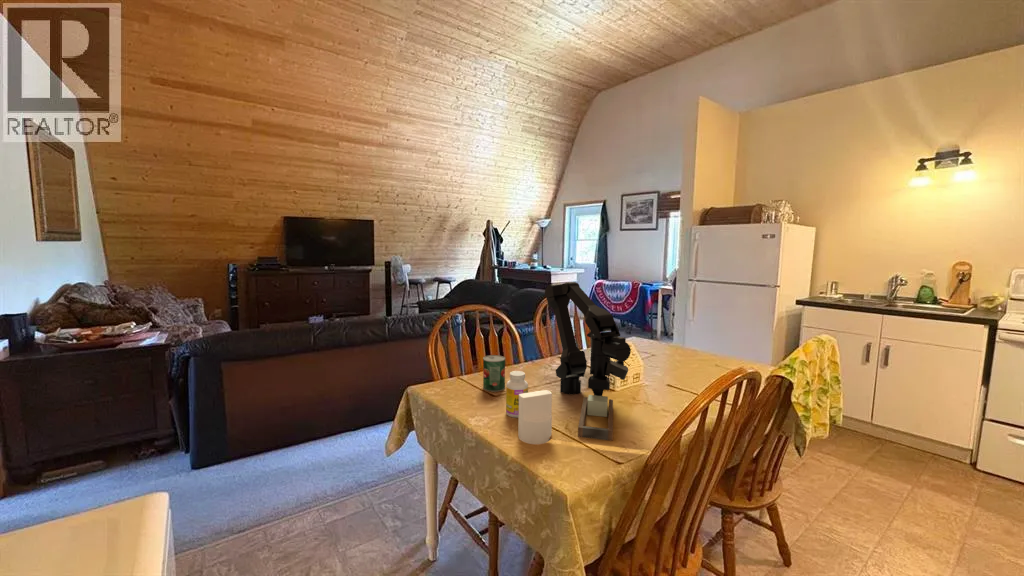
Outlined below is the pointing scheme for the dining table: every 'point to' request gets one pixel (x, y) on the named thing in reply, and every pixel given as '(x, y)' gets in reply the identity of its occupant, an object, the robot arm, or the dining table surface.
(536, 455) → the dining table surface
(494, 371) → the canned tomato
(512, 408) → the supplement bottle
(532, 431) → the cylinder with rectangular tab
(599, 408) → the block
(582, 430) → the chute
